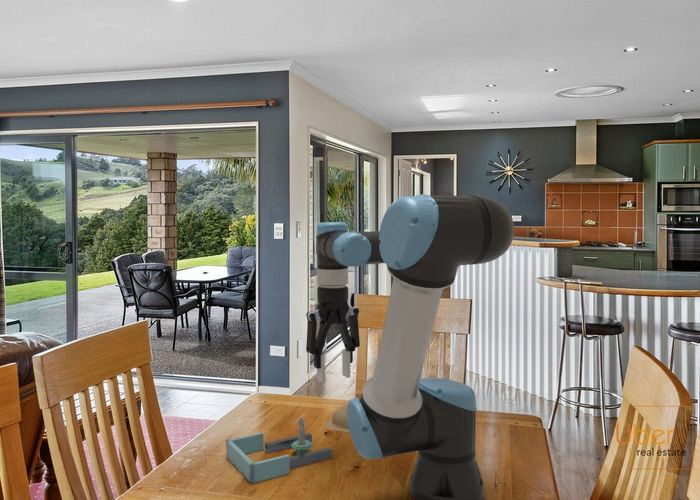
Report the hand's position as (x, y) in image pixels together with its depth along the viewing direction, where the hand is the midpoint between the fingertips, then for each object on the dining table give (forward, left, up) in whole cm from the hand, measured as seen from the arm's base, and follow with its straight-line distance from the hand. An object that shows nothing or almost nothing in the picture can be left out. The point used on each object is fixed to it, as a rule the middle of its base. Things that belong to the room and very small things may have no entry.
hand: (333, 378), depth 143 cm
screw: (0, +9, -17) cm, 19 cm away
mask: (+5, -16, -18) cm, 24 cm away
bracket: (0, +20, -17) cm, 27 cm away
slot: (0, +10, -17) cm, 20 cm away
